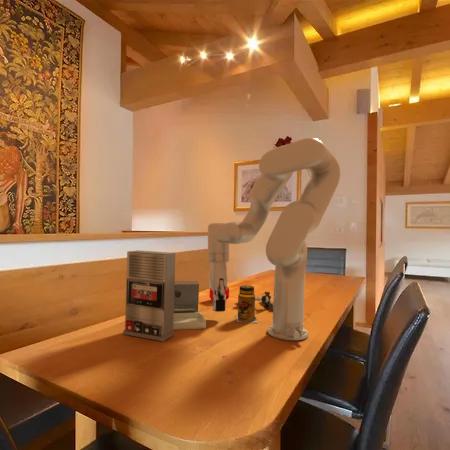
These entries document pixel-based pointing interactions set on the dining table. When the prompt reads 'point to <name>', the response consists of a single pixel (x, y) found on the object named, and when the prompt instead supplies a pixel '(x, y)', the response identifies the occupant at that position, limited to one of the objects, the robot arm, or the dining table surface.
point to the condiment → (246, 305)
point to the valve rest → (269, 304)
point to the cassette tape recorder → (150, 294)
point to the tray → (188, 321)
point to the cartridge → (215, 302)
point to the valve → (264, 299)
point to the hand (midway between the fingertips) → (219, 308)
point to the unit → (186, 296)
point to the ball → (225, 293)
